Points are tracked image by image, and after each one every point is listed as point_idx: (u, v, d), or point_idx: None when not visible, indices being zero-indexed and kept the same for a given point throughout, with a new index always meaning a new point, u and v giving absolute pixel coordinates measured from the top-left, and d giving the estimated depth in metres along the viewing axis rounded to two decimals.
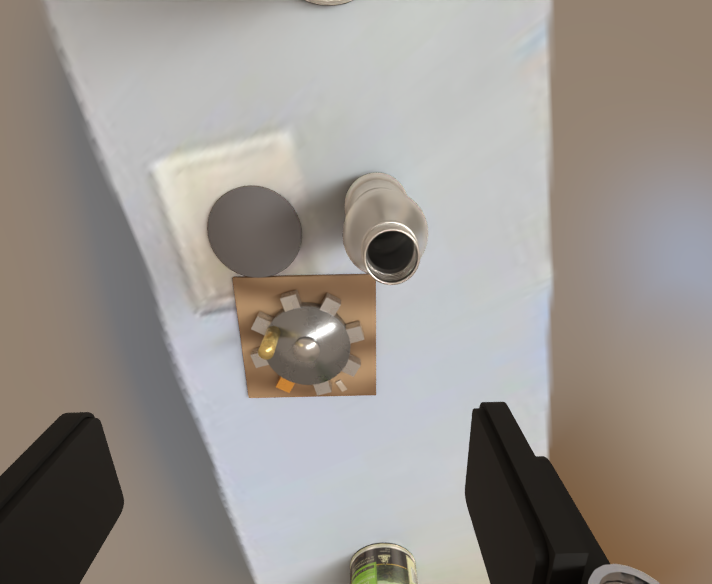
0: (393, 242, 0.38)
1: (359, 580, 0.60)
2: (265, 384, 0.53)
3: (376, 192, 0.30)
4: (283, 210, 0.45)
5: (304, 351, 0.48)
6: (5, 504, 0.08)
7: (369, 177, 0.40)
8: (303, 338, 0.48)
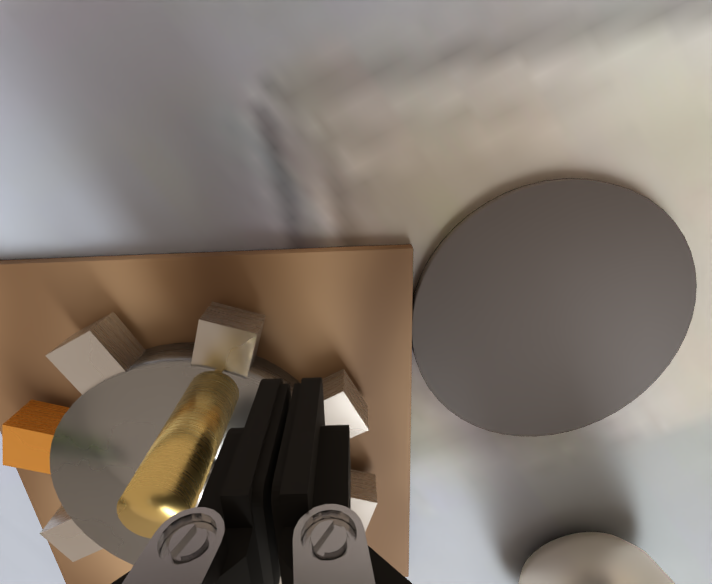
0: None
1: None
2: (11, 326, 0.15)
3: None
4: (603, 398, 0.16)
5: None
6: (262, 449, 0.09)
7: None
8: None
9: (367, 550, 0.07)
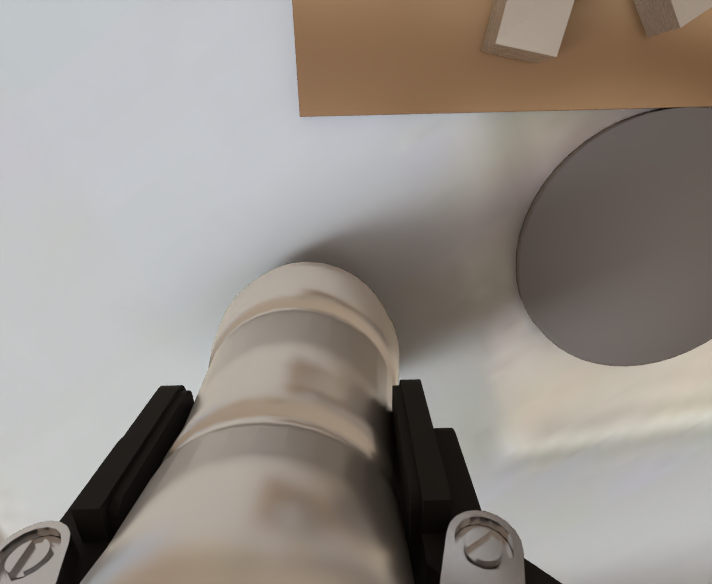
0: None
1: None
2: None
3: None
4: (556, 312, 0.17)
5: None
6: (134, 459, 0.09)
7: None
8: None
9: (523, 575, 0.06)
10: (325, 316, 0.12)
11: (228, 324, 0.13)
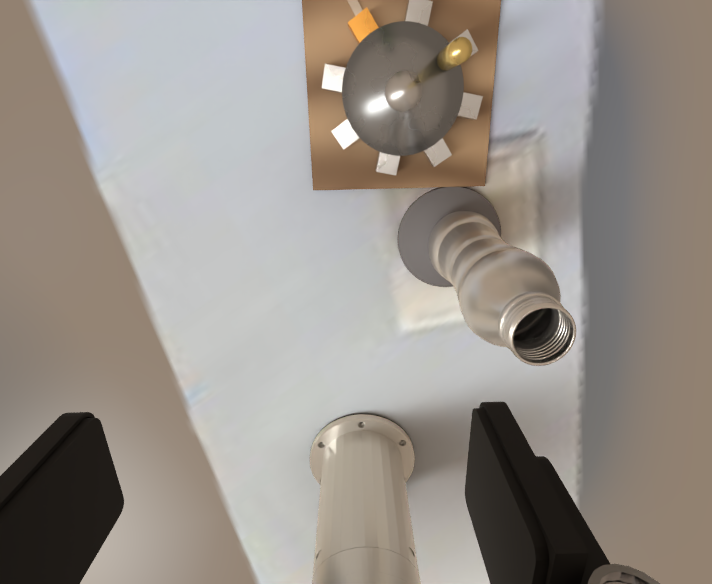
0: (467, 240, 0.33)
1: None
2: (472, 9, 0.34)
3: None
4: (414, 263, 0.42)
5: (404, 88, 0.34)
6: (5, 504, 0.08)
7: None
8: (420, 97, 0.34)
9: None
10: (483, 224, 0.36)
11: (446, 229, 0.36)
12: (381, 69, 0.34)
